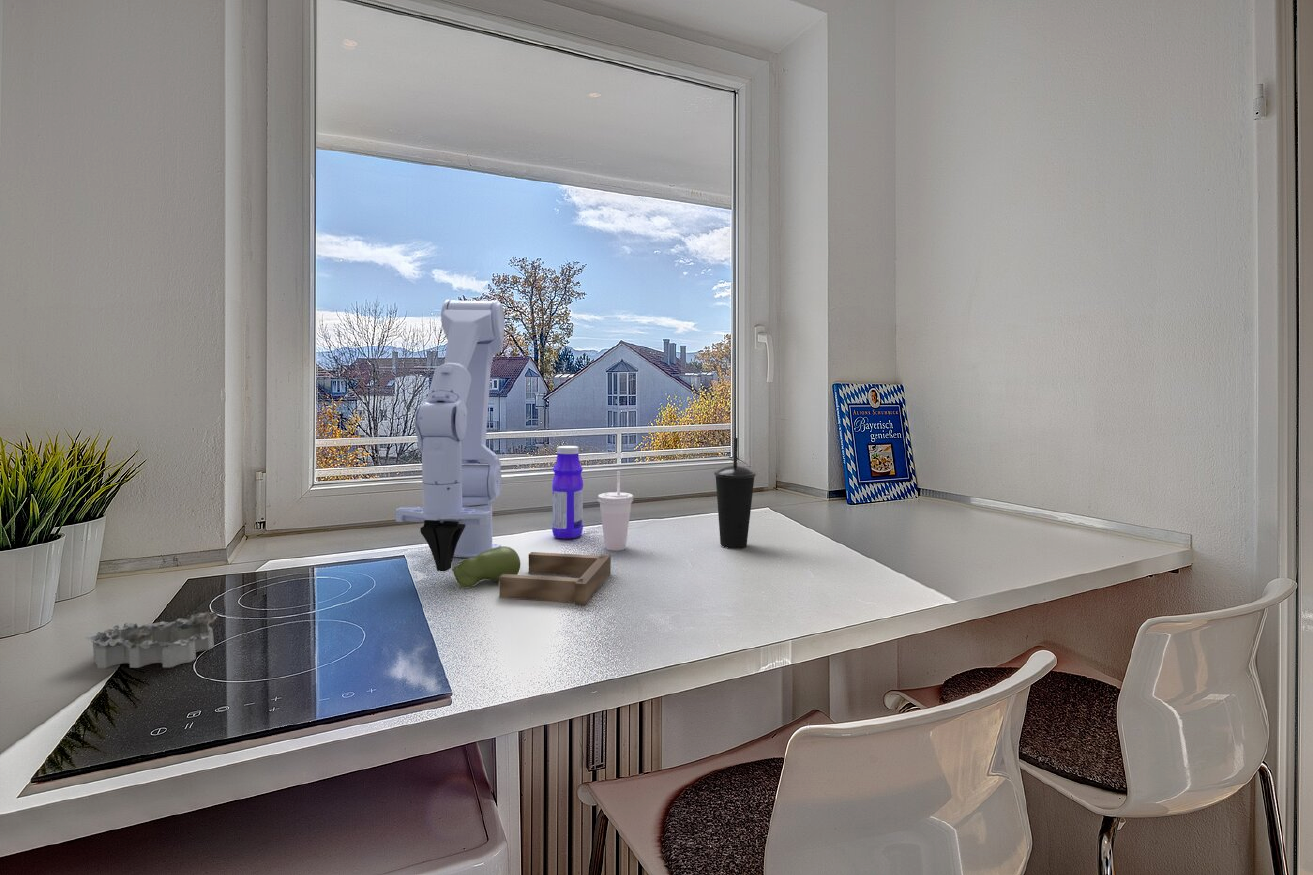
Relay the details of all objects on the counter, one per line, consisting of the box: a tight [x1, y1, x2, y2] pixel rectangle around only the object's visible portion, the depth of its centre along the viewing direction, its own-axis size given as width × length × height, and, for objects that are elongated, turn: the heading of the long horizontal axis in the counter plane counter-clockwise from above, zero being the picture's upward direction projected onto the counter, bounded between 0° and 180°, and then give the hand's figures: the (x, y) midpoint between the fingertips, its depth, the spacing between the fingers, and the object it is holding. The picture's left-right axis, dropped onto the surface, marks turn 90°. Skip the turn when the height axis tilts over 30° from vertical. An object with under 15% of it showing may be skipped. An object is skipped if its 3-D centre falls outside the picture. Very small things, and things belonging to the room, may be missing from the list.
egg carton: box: [84, 611, 218, 669], centre depth 76 cm, size 11×8×4 cm
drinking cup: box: [713, 437, 757, 549], centre depth 125 cm, size 8×8×20 cm
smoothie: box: [597, 470, 634, 552], centre depth 123 cm, size 6×6×14 cm
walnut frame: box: [498, 551, 612, 606], centre depth 102 cm, size 13×15×3 cm
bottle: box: [551, 445, 584, 540], centre depth 132 cm, size 7×6×17 cm
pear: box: [451, 545, 521, 589], centre depth 103 cm, size 6×5×10 cm
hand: (444, 569), depth 105 cm, fingers closed
